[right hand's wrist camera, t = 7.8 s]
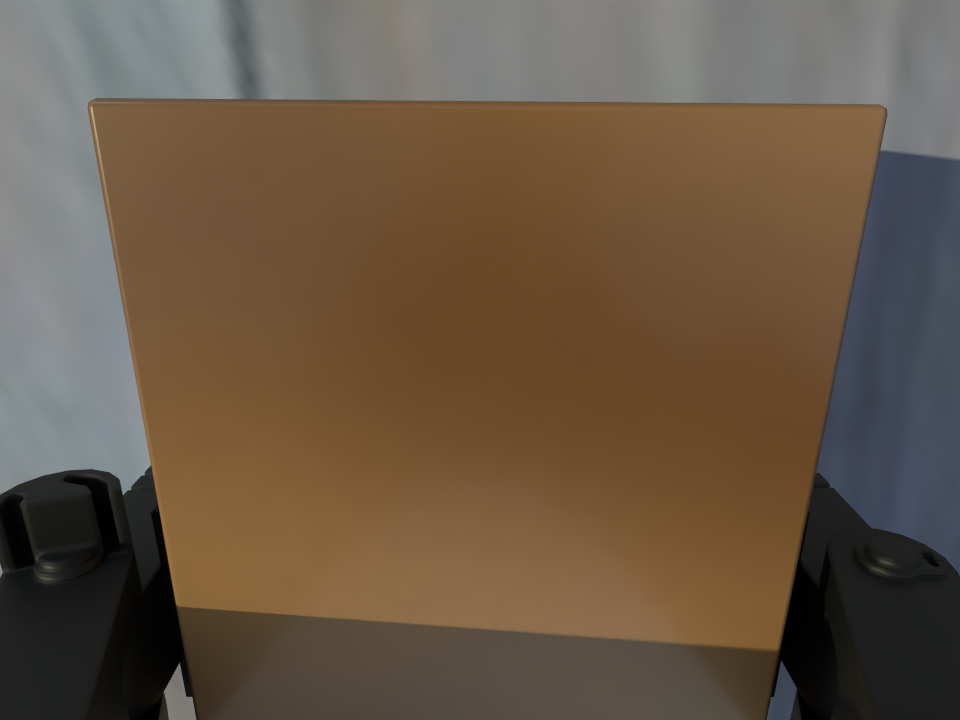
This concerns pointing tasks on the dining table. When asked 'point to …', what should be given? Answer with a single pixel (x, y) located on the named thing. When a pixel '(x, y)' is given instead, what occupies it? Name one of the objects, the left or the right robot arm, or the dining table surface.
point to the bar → (484, 393)
